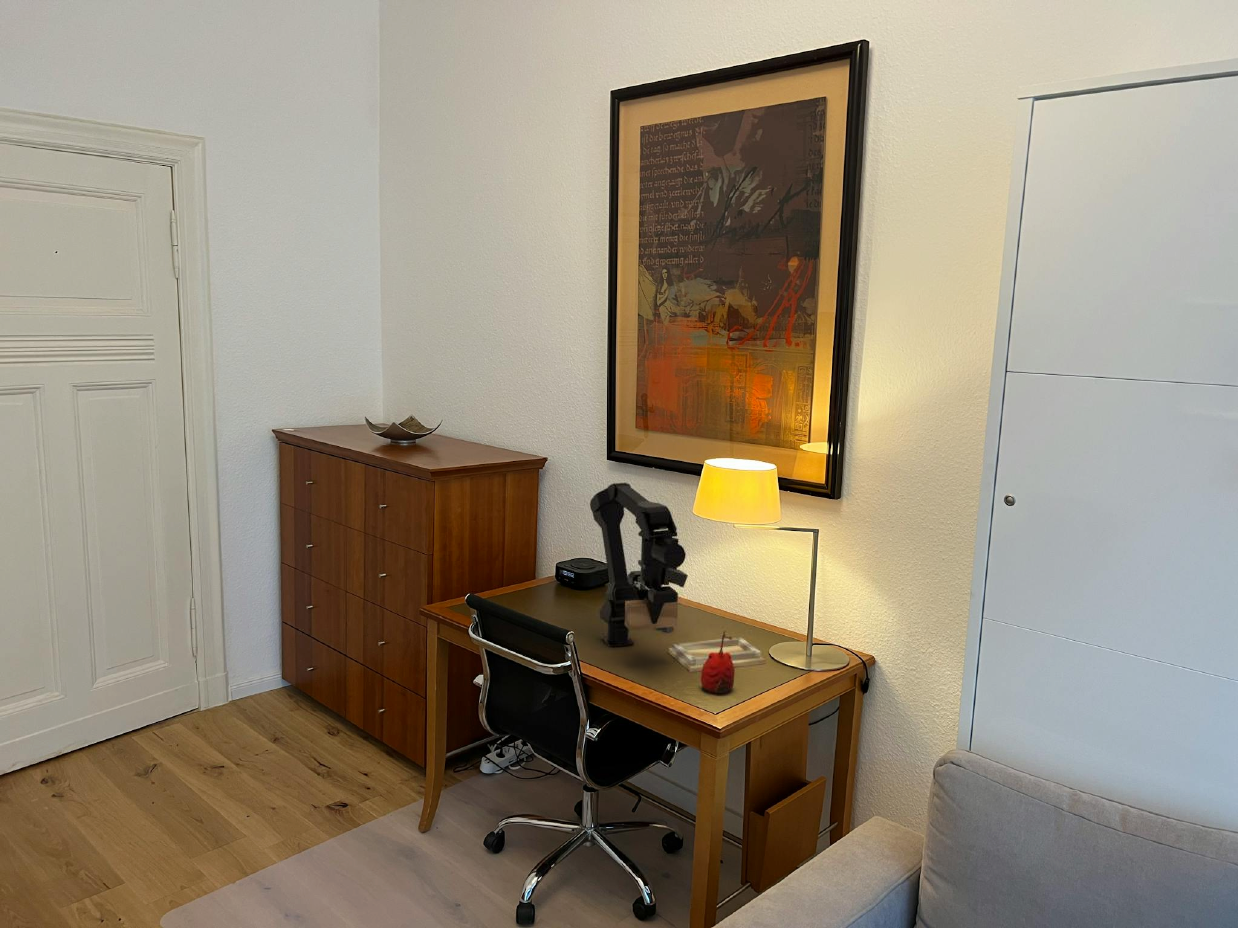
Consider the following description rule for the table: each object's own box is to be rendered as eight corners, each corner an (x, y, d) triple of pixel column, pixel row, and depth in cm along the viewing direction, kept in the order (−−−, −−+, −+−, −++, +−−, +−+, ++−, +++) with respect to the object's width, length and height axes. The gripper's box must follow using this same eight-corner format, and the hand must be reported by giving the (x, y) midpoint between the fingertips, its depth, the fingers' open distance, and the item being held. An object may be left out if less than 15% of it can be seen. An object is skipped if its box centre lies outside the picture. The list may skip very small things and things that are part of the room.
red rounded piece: (729, 683, 213) (732, 621, 211) (738, 695, 206) (741, 631, 204) (697, 684, 212) (699, 622, 210) (705, 696, 205) (707, 632, 203)
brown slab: (624, 625, 222) (625, 601, 221) (670, 620, 225) (671, 597, 224) (630, 630, 218) (630, 606, 217) (677, 626, 222) (677, 602, 221)
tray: (668, 651, 232) (668, 642, 232) (739, 644, 239) (740, 635, 238) (690, 672, 219) (690, 662, 219) (765, 663, 226) (765, 653, 225)
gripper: (699, 565, 213) (697, 630, 215) (669, 546, 230) (667, 606, 233) (655, 568, 209) (653, 634, 212) (627, 549, 227) (626, 609, 229)
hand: (651, 620), depth 221 cm, fingers closed on brown slab, 4 cm apart
